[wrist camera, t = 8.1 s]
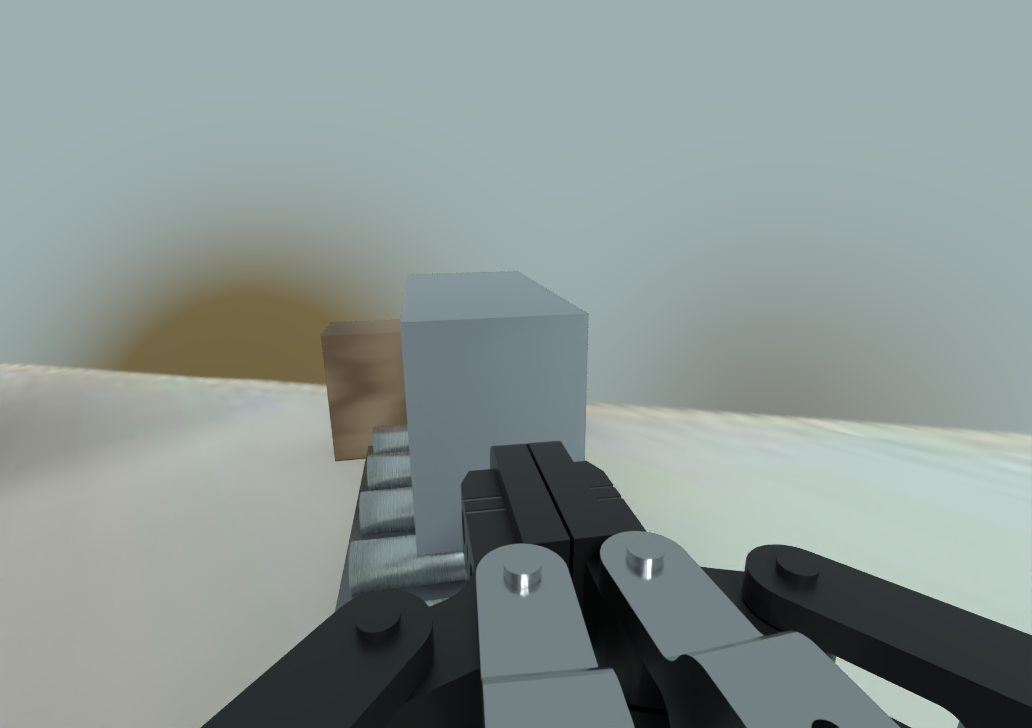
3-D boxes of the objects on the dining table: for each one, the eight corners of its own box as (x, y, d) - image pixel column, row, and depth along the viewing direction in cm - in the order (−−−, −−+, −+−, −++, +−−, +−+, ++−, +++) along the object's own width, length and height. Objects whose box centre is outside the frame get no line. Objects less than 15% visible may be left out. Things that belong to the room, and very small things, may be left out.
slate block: (582, 536, 21) (588, 313, 19) (417, 555, 20) (399, 322, 18) (519, 411, 34) (517, 271, 32) (417, 418, 33) (407, 274, 31)
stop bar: (335, 460, 33) (320, 335, 31) (343, 435, 37) (331, 322, 35) (581, 439, 36) (584, 322, 34) (565, 417, 40) (567, 311, 38)
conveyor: (285, 907, 12) (270, 830, 11) (369, 457, 34) (366, 422, 33) (769, 801, 14) (781, 730, 13) (554, 441, 36) (554, 407, 35)
